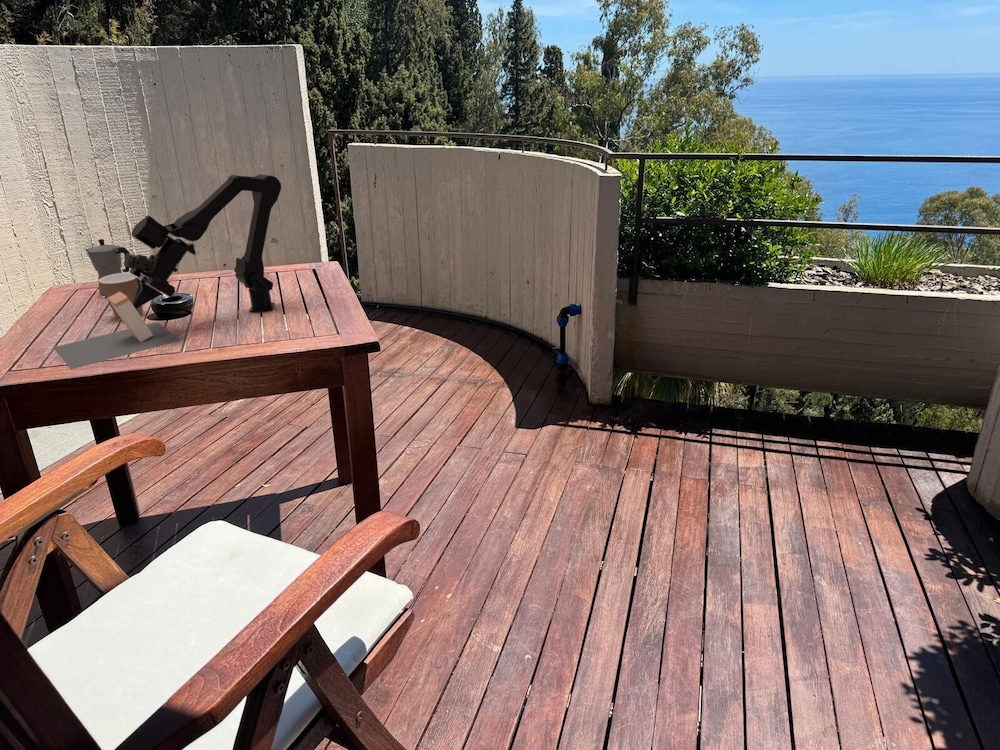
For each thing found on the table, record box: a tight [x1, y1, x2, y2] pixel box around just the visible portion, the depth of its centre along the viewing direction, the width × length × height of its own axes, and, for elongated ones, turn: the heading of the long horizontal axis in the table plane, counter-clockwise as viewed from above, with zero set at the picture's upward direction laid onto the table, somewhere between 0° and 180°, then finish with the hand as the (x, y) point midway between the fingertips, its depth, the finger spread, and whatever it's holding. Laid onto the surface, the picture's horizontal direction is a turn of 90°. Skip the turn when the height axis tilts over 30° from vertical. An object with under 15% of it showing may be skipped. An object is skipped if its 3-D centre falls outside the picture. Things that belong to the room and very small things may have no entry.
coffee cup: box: [98, 272, 144, 321], centre depth 194 cm, size 10×10×12 cm
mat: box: [52, 321, 182, 370], centre depth 176 cm, size 26×20×1 cm
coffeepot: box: [84, 238, 131, 297], centre depth 214 cm, size 15×9×18 cm, turn 80°
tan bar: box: [106, 292, 153, 342], centre depth 176 cm, size 4×7×12 cm, turn 42°
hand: (133, 307), depth 176 cm, fingers closed
